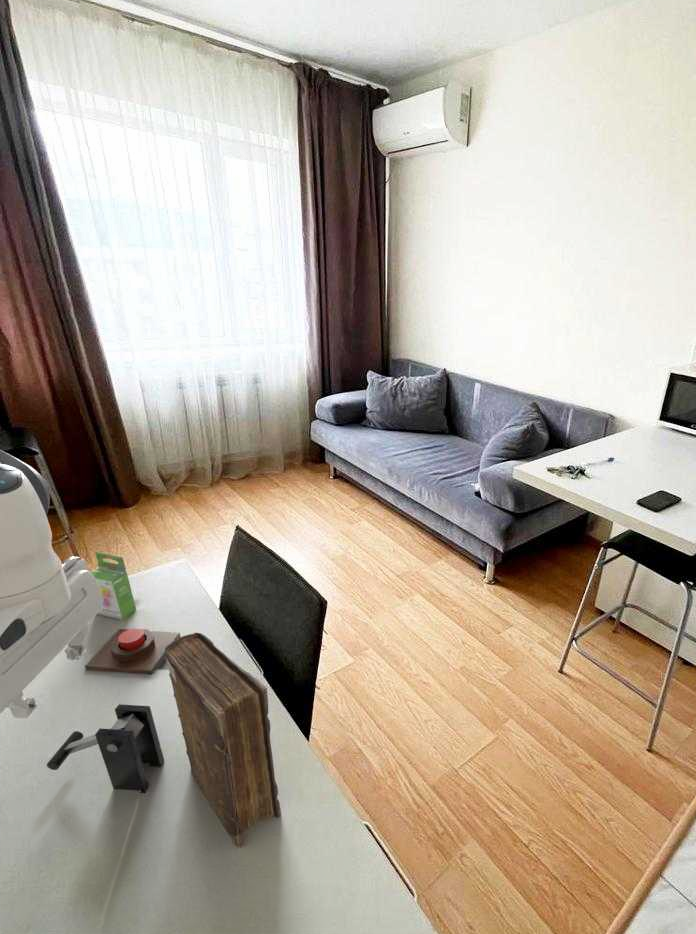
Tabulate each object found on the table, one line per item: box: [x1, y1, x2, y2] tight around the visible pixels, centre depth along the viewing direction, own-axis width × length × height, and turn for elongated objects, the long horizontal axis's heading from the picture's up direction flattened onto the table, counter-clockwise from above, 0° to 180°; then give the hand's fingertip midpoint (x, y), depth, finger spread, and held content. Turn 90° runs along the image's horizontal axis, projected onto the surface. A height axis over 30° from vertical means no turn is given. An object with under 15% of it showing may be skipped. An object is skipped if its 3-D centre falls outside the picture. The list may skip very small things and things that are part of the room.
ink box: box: [90, 551, 137, 621], centre depth 102 cm, size 7×4×13 cm, turn 76°
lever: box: [46, 714, 144, 771], centre depth 69 cm, size 13×5×2 cm, turn 88°
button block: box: [84, 628, 182, 675], centre depth 93 cm, size 12×10×4 cm
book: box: [164, 632, 282, 849], centre depth 66 cm, size 17×7×25 cm, turn 45°
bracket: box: [94, 703, 165, 794], centre depth 70 cm, size 12×9×13 cm
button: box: [118, 627, 145, 650], centre depth 92 cm, size 4×4×2 cm
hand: (53, 682), depth 64 cm, fingers open, 8 cm apart
